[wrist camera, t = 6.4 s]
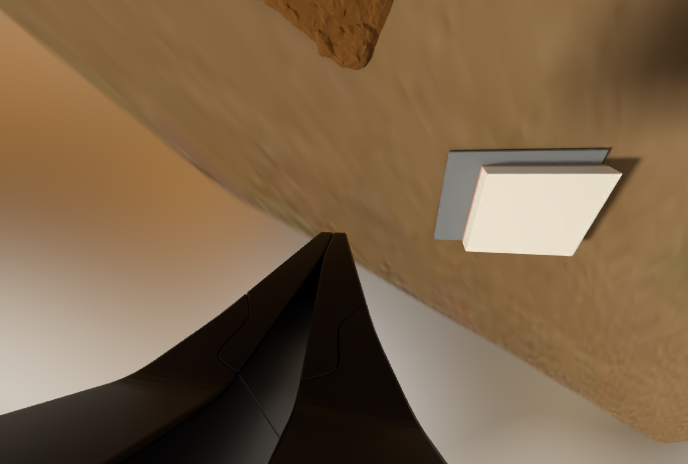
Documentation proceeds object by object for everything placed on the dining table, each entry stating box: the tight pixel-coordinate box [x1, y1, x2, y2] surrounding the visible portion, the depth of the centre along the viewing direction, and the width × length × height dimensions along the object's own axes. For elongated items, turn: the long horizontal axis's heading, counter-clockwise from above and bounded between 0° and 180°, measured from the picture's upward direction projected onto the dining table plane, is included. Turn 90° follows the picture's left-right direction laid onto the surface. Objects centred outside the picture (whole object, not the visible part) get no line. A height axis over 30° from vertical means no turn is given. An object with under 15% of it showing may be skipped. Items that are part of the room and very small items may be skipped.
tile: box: [462, 165, 622, 256], centre depth 20 cm, size 2×7×8 cm
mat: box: [434, 149, 608, 240], centre depth 20 cm, size 10×8×1 cm
